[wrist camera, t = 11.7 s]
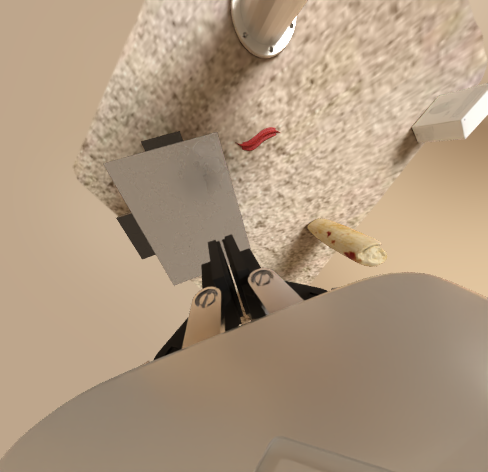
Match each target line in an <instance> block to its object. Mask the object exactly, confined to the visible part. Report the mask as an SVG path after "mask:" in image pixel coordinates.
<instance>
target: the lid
mask: <svg viewBox="0 0 488 472" xmlns="http://www.w3.org/2000/svg"><path fill="white" fill-rule="evenodd" d="M103 165H104V166H105V168H106V170H107V171H108V173H109V175H110V177H111V178H112V180H113V182H114V183H115V185H116V187H117V189H118V190H119V192H120V194H121V195H122V197H123V199H124V201H125V202H126V204H127V206H128V207H129V209H130V211H131V212H130V213H127V214H124V215H121V216H118V217H117V220H118V222H119V223H120V225H121V226H122V228H123V229H124V231H125V233H126V234H127V236H128V237H129V239H130V240H131V242H132V244H133V245H134V247H135V248H136V250H137V252H138V253H139V255H140V256H141V258H142V259H145V258H147V257H150V256H153V255H156V256H157V257H158V259H159V261H160V262H161V264H162V266H163V267H164V269H165V271H166V273H167V274H168V276H169V278H170V280H171V281H172V283H173V285H177V284H179V283H182V282H184V281H187V280H190V279H193V278H195V277H198V276H200V275H202V269H201V265H202V264H204V263H207V262H210V256H209V249H208V242H210V241H213V240H216V242H217V241H220V244H221V247H222V250H223V253H224V256H225V259H226V261H227V264H228V265H229V261H228V258H227V255H226V251H225V248H224V245H223V242H222V240H223V239H225V238H224V237H225V236H228V235H231V234H232V235H233V237H234V240H235V242H236V244H237V246H238V248H239V250H240V251H243V250H245V249H248V248H249V249H250V250H251V248H250V245H249V241H248V238H247V234H246V231H245V227H244V224H243V220H242V217H241V213H240V210H239V206H238V203H237V199H236V196H235V192H234V189H233V185H232V182H231V178H230V175H229V171H228V168H227V164H226V161H225V157H224V154H223V150H222V147H221V143H220V140H219V136H218V133H217V132H215V133H211V134H208V135H204V136H201V137H197V138H193V139H190V140H186V141H183V142H179V143H175V144H172V145H168V146H164V147H161V148H157V149H154V150H150V151H146V152H143V153H139V154H135V155H132V156H128V157H125V158H121V159H117V160H114V161H110V162H107V163H103Z"/></svg>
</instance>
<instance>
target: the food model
mask: <svg viewBox="0 0 488 472" xmlns="http://www.w3.org/2000/svg"><path fill="white" fill-rule="evenodd" d="M308 230H309V231H310V232H311V233H312V234H313V235H314V236H315V237H316V238H317V239H319V240H320V241H322V242H323V243H324V244H326V245H327V246H329V247H331V248H332V249H334V250H336V251H337V252H339V253H341V254H343V255H344V256H346V257H348V258H350V259H351V260H353V261H355V262H357V263H359V264H362V265H364V266H369V267H373V266H378V265H380V264H382V263H383V262H385V261H386V259H387V254H386V252H385V251H384V250H383V249H382V248H381V247H379V246H378V245H382V244H381V243H380V242H379V241H377V240H376V239H374V238H372V237H369V236H367V235H364V234H362V233H360V232H358V231H356V230H354V229H351V228H349V227H346V226H344V225H341V224H338V223H336V222H333V221H330V220H327V219H321V218H320V219H316V220H314V221H313V222H311V223H310V224H309V225H308Z"/></svg>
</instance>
